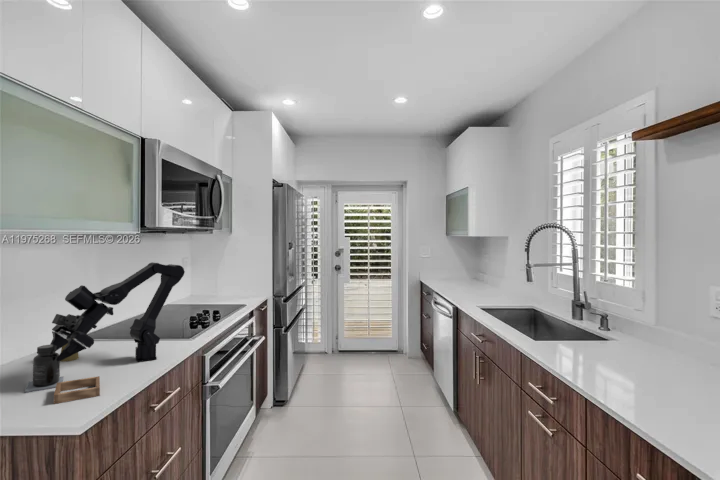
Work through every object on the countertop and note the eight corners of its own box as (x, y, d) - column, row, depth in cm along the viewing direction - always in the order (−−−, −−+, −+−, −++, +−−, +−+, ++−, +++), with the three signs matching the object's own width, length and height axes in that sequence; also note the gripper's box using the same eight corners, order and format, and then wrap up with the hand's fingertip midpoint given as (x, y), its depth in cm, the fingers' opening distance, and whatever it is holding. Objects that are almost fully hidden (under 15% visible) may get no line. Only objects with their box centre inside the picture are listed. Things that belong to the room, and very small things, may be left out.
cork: (68, 362, 146) (68, 333, 146) (55, 360, 148) (55, 332, 147) (82, 357, 152) (83, 329, 152) (70, 356, 154) (70, 328, 153)
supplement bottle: (64, 381, 126) (64, 345, 126) (39, 389, 120) (40, 350, 120) (52, 378, 129) (52, 342, 129) (27, 384, 123) (28, 347, 123)
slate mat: (63, 377, 131) (63, 376, 131) (61, 386, 124) (61, 385, 124) (28, 383, 126) (28, 381, 126) (24, 392, 119) (24, 391, 119)
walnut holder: (99, 383, 127) (99, 376, 127) (99, 395, 118) (99, 387, 118) (56, 390, 121) (56, 382, 121) (53, 403, 112) (53, 395, 112)
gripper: (59, 301, 135) (18, 339, 126) (83, 307, 125) (41, 350, 116) (84, 319, 142) (47, 357, 133) (109, 327, 132) (71, 368, 123)
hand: (51, 358), depth 126 cm, fingers open, 9 cm apart
